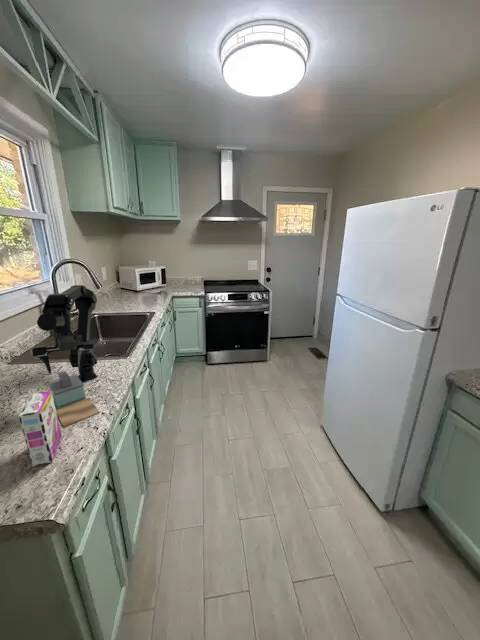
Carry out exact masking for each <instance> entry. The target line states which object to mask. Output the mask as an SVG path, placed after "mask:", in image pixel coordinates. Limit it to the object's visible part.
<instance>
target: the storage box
mask: <svg viewBox="0 0 480 640" xmlns="http://www.w3.org/2000/svg"><path fill="white" fill-rule="evenodd" d="M49 389H50V388H49ZM49 391H52V390H51V389H50V390H49ZM52 394H53V392H52ZM53 399H54V403H55V406H56V407H57V409H60V408H62V407H65V406H68V405H70V404H73V403H76V402H79V401H81V400H84V399H87V398H86V394H85V389H84V386H82V387H79V388H76V389H73V390H70V391H67V392H64V393H61V394H59V395H56V396H54V394H53Z"/></svg>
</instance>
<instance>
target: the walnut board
mask: <svg viewBox="0 0 480 640" xmlns="http://www.w3.org/2000/svg"><path fill="white" fill-rule="evenodd" d="M56 413H57V417H58V420H59V422H60V423H61V425H62V427H63V428H66V427H70V426H72V425H74V424H77V423H78V422H81V421H84V420H86V419H89V418H90V417H93V416H96V415H99V414H100V413H101V412H100V411H99V408H97V406H96V405H95V404H94V402H93V401H92V399H91V398H90V397H87V398H86V399H83V400H80V401H77V402H75V403H72V404H69V405H67V406H64V407H61V408H57V409H56Z"/></svg>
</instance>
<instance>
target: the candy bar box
mask: <svg viewBox="0 0 480 640" xmlns="http://www.w3.org/2000/svg"><path fill="white" fill-rule="evenodd" d="M56 410H57V409H56V404H55V402H54V399H53V394H52V391H51V390H49V391H42V392H38V393H37V392H36V393H33V394H32V395H31V397H30V398H29V399H28V401H27V402H26V404H25V405H24V407H23V409H22V410H21V411H20V413H19V414H18V419H19V422H20V425H21V429H22V433H23V436H24V441H25V443H26V444H25V445H26V448H27V451H28V455H29V460H30V463H31V467H32V468H33V467H34V468H35V467H38V466H43V465H47V464H51V463H52V462H53V461H54V458H55V455H56V453H57V450H58V447H59V445H60V441H61V439H62V432H61V428H60V423H59V422H60V421H59V417H58V415H57V413H56Z"/></svg>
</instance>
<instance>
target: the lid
mask: <svg viewBox="0 0 480 640" xmlns="http://www.w3.org/2000/svg"><path fill="white" fill-rule="evenodd" d="M57 376H58V379H55V380H52V381H50V382H48V383H47V385H48V387H49V389H51V390H52V392H53V394H54V396H56V395H59V394H61V393H64V392H67V391H70V390H73V389H76V388H79V387H82V386H83V387H84V382H81V380H80V379H79V378H78V375H77V374H72V375H69V374H68V373H67V371H66V370H63V371H60V372H57ZM51 390H50V391H51Z"/></svg>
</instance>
